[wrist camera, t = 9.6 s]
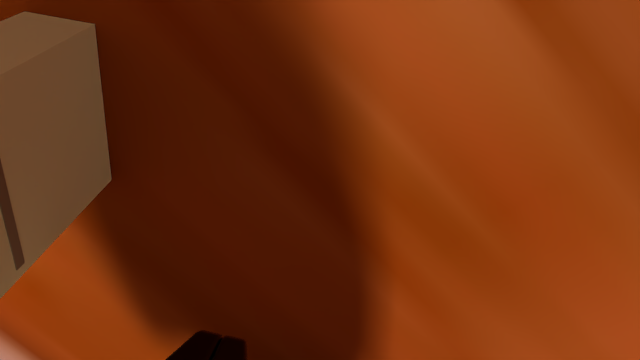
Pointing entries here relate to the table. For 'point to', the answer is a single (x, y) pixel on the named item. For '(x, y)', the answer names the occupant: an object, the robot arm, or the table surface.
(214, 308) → the table surface
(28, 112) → the sage domino
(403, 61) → the table surface
